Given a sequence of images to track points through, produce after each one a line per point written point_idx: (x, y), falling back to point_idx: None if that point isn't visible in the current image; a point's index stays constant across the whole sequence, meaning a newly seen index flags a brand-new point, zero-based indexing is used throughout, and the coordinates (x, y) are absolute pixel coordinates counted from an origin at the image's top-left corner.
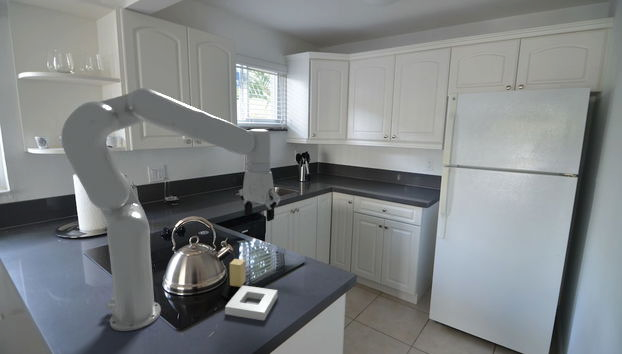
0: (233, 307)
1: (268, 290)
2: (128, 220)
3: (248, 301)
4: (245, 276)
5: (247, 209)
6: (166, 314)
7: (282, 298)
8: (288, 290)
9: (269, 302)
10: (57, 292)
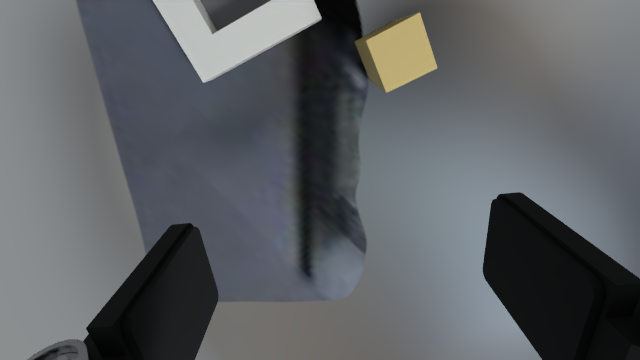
0: None
1: (223, 60)
2: None
3: None
4: (372, 82)
5: (536, 256)
6: None
7: (200, 88)
8: (222, 135)
9: (157, 3)
10: None
